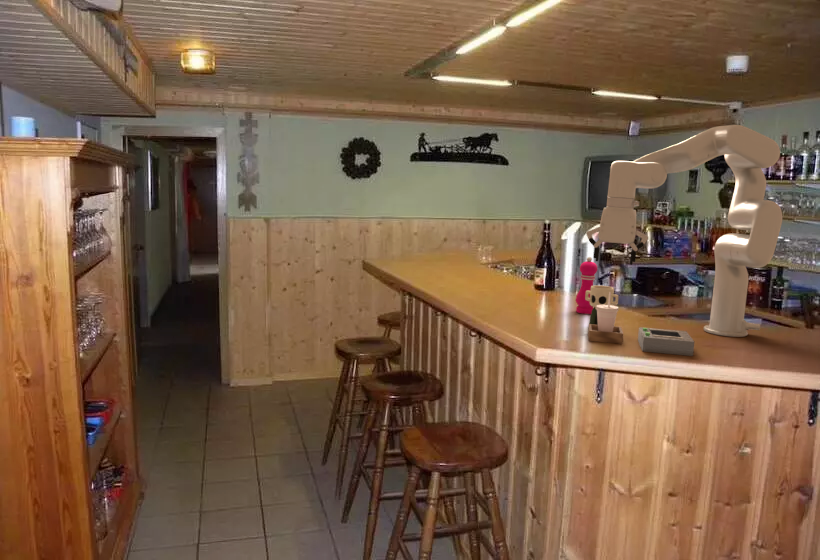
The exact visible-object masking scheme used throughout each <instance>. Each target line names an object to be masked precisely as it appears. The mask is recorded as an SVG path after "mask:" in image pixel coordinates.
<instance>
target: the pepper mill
mask: <svg viewBox="0 0 820 560" xmlns="http://www.w3.org/2000/svg"><path fill="white" fill-rule="evenodd" d="M579 271H580V273H581V274H580V279H581V284H580V288H579V291H578V292H577V293H576V297H575V303H576V305H578V306H576V309H575V310H576V311H575V312H576V313H579V314H582V315H583V314H584V315H591V312H592V310H593V308H594V307H593V306H591V305H590V301H587V300H586V299H585V295H586V291H591V286H594V281H595V280H596V275H595V274H597V272H598V265H597V263H595V262H594V261H593V258H592V257H591V256H588V257H587V258H586V261H584V262H581V264H580V266H579ZM588 298H590V294H588Z"/></svg>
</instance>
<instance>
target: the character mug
mask: <svg viewBox="0 0 820 560" xmlns="http://www.w3.org/2000/svg"><path fill="white" fill-rule="evenodd" d="M609 292H611V298H610V305H612V306H617V305H618V304H619V294H616V293H615V288H614V287H612V286H608V285H593V286H591V291H586V295H585V299H586V300H587V301H590V305H591V306H593V310H592V312H591V314H590V318H589V322H588V325H589V324H595V325H598V321H597V310H596V306H597V305H608V299H609ZM588 294H590V298H588ZM614 298H615V299H614Z"/></svg>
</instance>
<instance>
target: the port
mask: <svg viewBox="0 0 820 560" xmlns="http://www.w3.org/2000/svg"><path fill="white" fill-rule="evenodd" d="M637 335H638V336H637V341H638V345H639V346H640V349H641V351H642V352H645V353H646V352H648V353H655V354H657V353H658V354H667V355H676V356H677V355H678V356H687V357H688V356H689V357H693V356H694V350H695V341H694V339H693V338H692V337H691V335H690V334H689V332H688V331H687V330H686V331H685V330H677V329H663V328H655V327H654V328H653V327H652V328H651V327H643V326H642V327H641V326H640V327H638V334H637Z"/></svg>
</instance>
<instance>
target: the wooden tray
mask: <svg viewBox="0 0 820 560" xmlns="http://www.w3.org/2000/svg"><path fill="white" fill-rule="evenodd" d="M587 328H588V329H587V330H588V331H587V337H588V341H589V342H600V343H611V344H621V345H622V344H623V342H624V332H623V328H622V326H616V325H614V328H613V332H605V331H598V325H595V324H589V323H588V327H587Z"/></svg>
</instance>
